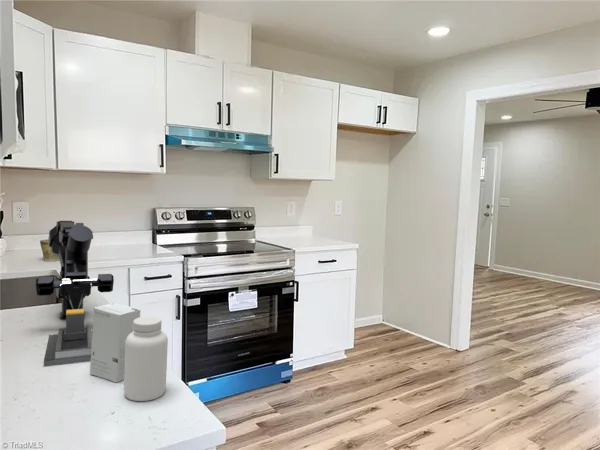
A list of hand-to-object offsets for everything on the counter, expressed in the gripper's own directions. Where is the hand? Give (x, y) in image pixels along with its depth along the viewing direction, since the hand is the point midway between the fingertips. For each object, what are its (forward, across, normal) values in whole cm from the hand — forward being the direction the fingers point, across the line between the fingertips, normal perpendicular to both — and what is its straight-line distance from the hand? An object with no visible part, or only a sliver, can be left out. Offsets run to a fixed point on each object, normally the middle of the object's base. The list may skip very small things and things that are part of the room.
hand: (75, 311), depth 115 cm
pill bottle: (+32, -13, +22) cm, 41 cm away
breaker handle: (+7, 0, -1) cm, 7 cm away
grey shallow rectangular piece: (+11, 0, +2) cm, 11 cm away
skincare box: (+24, -8, +14) cm, 29 cm away
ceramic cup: (-80, +11, -90) cm, 120 cm away
